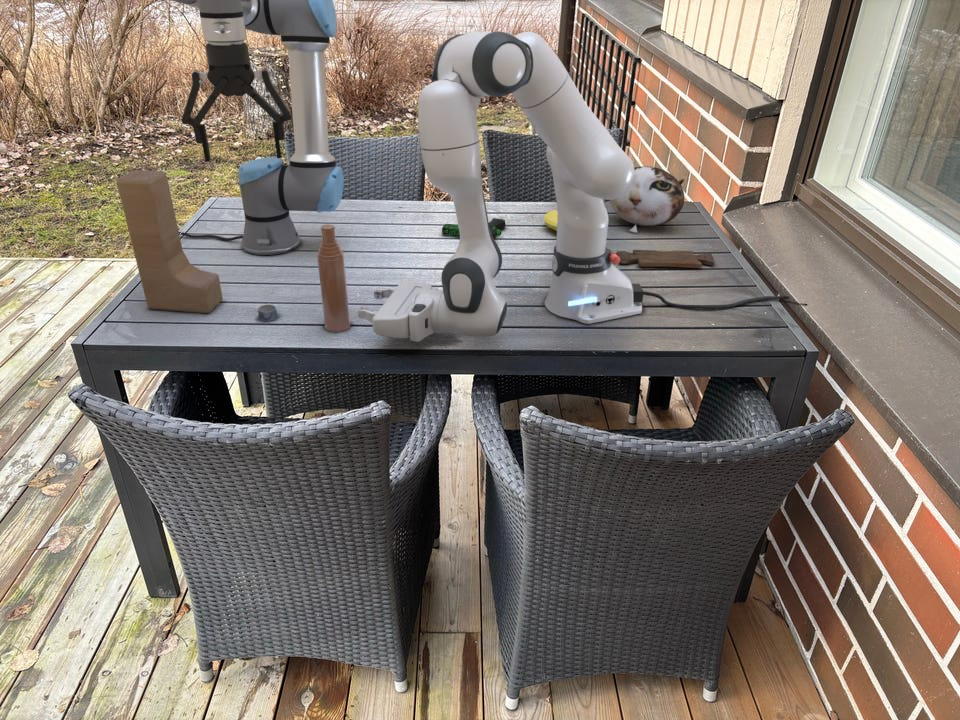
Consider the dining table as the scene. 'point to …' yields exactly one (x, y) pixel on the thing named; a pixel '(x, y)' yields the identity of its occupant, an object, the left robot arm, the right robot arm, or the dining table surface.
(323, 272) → the bottle
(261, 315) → the cap
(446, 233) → the handgun
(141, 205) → the decorative block
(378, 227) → the dining table surface
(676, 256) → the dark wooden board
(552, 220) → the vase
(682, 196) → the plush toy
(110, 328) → the dining table surface
